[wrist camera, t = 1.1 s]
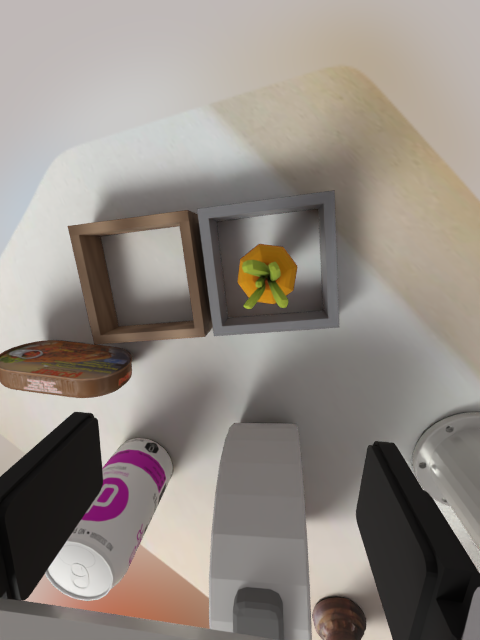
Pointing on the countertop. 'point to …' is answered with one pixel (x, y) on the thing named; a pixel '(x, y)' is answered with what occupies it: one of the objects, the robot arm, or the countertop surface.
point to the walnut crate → (99, 287)
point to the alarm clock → (260, 536)
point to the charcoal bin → (273, 321)
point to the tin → (65, 368)
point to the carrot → (267, 275)
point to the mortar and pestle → (339, 619)
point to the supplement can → (113, 522)
